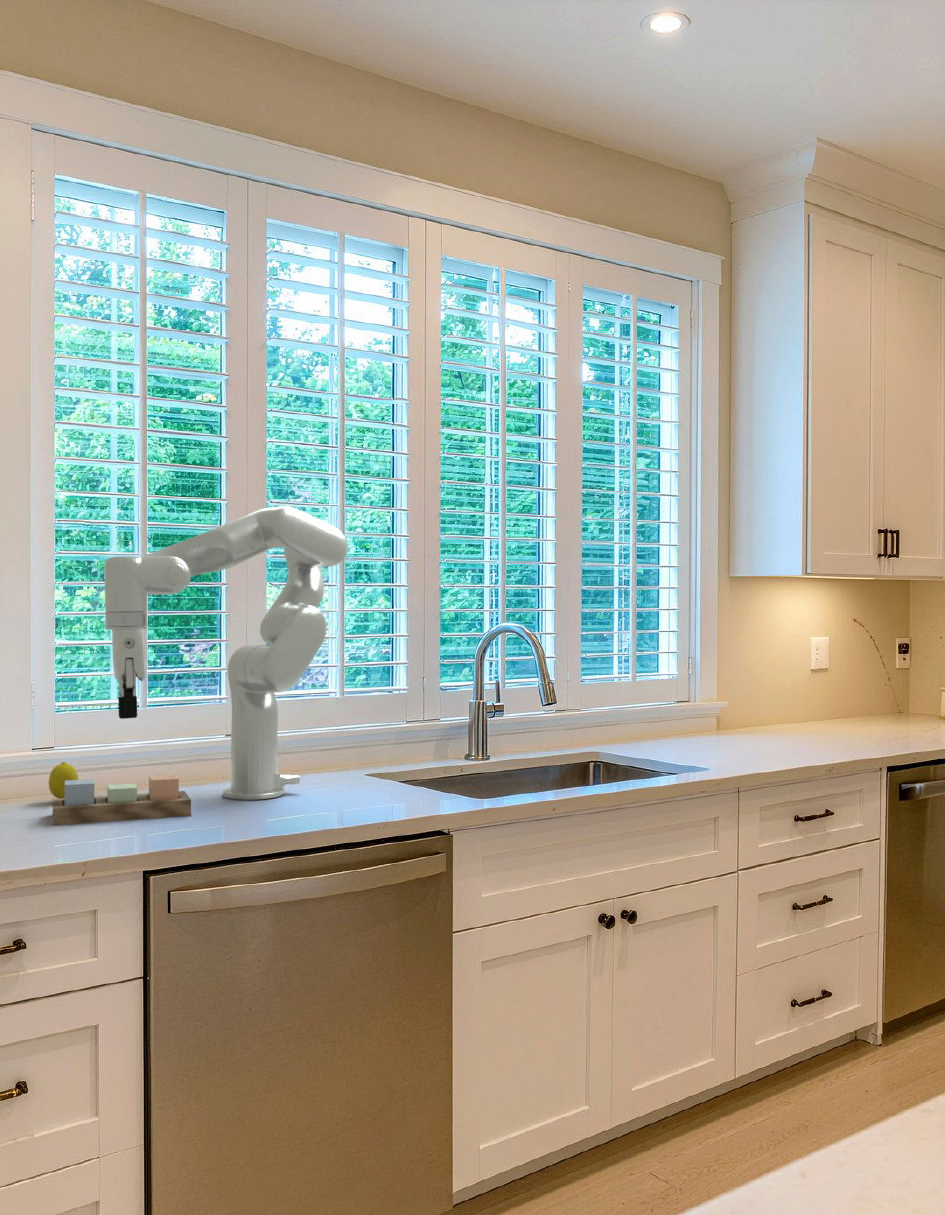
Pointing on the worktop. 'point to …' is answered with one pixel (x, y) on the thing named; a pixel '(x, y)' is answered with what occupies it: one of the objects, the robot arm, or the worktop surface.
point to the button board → (120, 809)
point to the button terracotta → (163, 787)
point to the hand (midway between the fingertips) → (127, 717)
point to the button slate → (79, 792)
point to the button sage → (121, 793)
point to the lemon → (61, 778)
